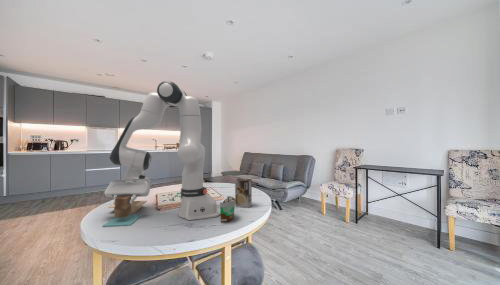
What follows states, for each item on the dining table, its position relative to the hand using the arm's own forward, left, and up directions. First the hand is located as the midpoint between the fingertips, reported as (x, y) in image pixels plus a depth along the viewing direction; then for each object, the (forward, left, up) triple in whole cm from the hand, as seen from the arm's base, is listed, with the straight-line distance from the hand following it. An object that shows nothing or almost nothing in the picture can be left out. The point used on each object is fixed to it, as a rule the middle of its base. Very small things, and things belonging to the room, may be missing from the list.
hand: (122, 204), depth 93 cm
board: (0, -1, -8) cm, 9 cm away
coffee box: (-61, -17, -9) cm, 64 cm away
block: (0, -1, -6) cm, 6 cm away
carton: (+5, -17, -8) cm, 19 cm away
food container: (-52, +3, -9) cm, 53 cm away
